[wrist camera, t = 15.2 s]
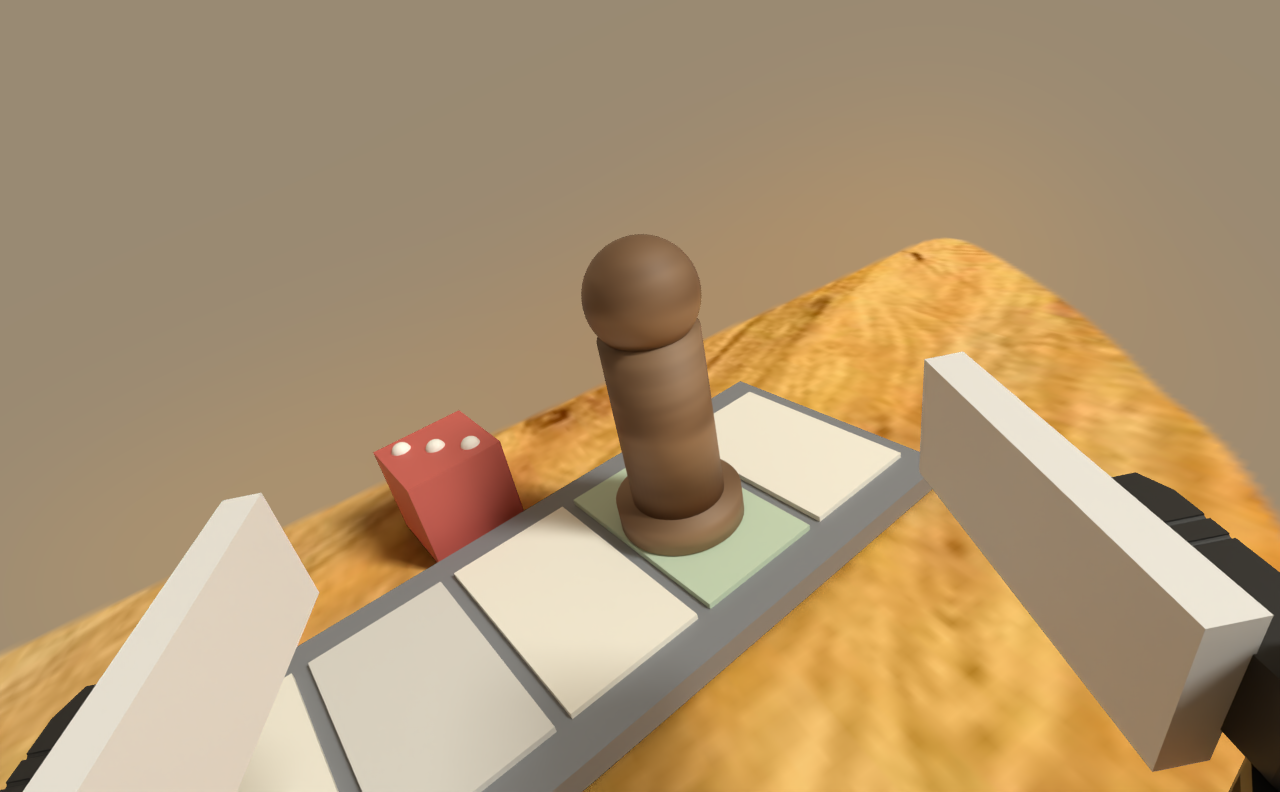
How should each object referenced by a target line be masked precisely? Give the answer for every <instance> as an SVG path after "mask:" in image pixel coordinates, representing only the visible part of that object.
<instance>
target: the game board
mask: <svg viewBox="0 0 1280 792" xmlns="http://www.w3.org/2000/svg"><path fill="white" fill-rule="evenodd" d="M712 406H713V413H714V420H715V426H716V433H717V440H718V447H719V454H720V459H722V460H724V461H726V462H727V463H729V464H730V465H731V466H732V467H733V468H734V469H735V470H736V471H737V473H738V474H739V477H740V480H741V486H742V493H743V501H744V515H743V519H742V521H741V523H740V525H739V526H738V528H737V529H736V531H735V532H734V533H733V534H732V535H731V536H730V537H728V538H727V539H726V540H725V541H723V542H721V543H720V544H718V545H716V546H714V547H712V548H710V549H707V550H705V551H702V552H698V553H695V554H689V555H681V556H665V555H658V554H653V553H650V552H647V551H644V550H642V549H640V548H638V547H637V546H635V545H634V544H633V543H632V542H631V541H629V539H628V538H627V537H626V535H625V533H624V531H623V528H622V524H621V520H620V516H619V512H618V508H617V504H616V495H617V491H618V489H619V487H620V485H621V483H622V482H623V480H624V479H625V478H626V477H627V472H626V468H625V463H624V459H623V455H622V453H620V454H618V455H616V456H615V457H613V458H611V459H610V460H608V461H606V462H605V463H603V464H601V465H600V466H598V467H596V468H595V469H593V470H591V471H590V472H588V473H586V474H585V475H583V476H581V477H580V478H578V479H576V480H575V481H573V482H571V483H570V484H568V485H566V486H565V487H563V488H561V489H560V490H558V491H556V492H555V493H553V494H551V495H550V496H548V497H546V498H545V499H543V500H541V501H540V502H538V503H536V504H535V505H533V506H531V507H530V508H528V509H526V510H525V511H523V512H521V513H520V514H518V515H516V516H515V517H513V518H511V519H510V520H508V521H506V522H505V523H503V524H501V525H500V526H498V527H496V528H495V529H493V530H491V531H490V532H488V533H486V534H485V535H483V536H481V537H480V538H478V539H476V540H475V541H473V542H471V543H470V544H468V545H466V546H465V547H463V548H461V549H460V550H458V551H456V552H455V553H453V554H451V555H450V556H448V557H446V558H445V559H443V560H441V561H440V562H438V563H436V564H435V565H433V566H431V567H430V568H428V569H426V570H425V571H423V572H421V573H420V574H418V575H416V576H415V577H413V578H411V579H410V580H408V581H406V582H405V583H403V584H401V585H399V586H398V587H396V588H394V589H393V590H391V591H389V592H388V593H386V594H384V595H383V596H381V597H379V598H378V599H376V600H374V601H373V602H371V603H369V604H368V605H366V606H364V607H363V608H361V609H359V610H358V611H356V612H354V613H353V614H351V615H349V616H348V617H346V618H344V619H343V620H341V621H339V622H338V623H336V624H334V625H333V626H331V627H329V628H328V629H326V630H324V631H323V632H321V633H319V634H318V635H316V636H314V637H313V638H311V639H309V640H308V641H306V642H304V643H303V644H301V645H299V646H298V647H297V648H296V650H295V653H294V655H293V657H292V660H291V662H290V665H289V667H288V669H287V672H286V674H285V677H284V679H283V682H282V684H281V686H280V689H279V691H278V694H277V696H276V699H275V701H274V703H273V706H272V708H271V711H270V713H269V716H268V718H267V720H266V723H265V725H264V728H263V730H262V733H261V735H260V737H259V740H258V742H257V745H256V747H255V750H254V752H253V754H252V757H251V759H250V762H249V764H248V766H247V769H246V771H245V774H244V776H243V779H242V781H241V783H240V786H239V788H238V791H237V792H582V791H584V790H585V789H586V788H587V787H588V786H589V785H591V784H592V783H593V782H594V781H595V780H596V779H598V778H599V777H600V776H601V775H602V774H603V773H604V772H606V771H607V770H608V769H609V768H610V767H611V766H613V765H614V764H615V763H616V762H617V761H618V760H619V759H621V758H622V757H623V756H624V755H625V754H626V753H628V752H629V751H630V750H631V749H632V748H633V747H635V746H636V745H637V744H638V743H639V742H640V741H641V740H643V739H644V738H645V737H646V736H647V735H648V734H650V733H651V732H652V731H653V730H654V729H655V728H656V727H658V726H659V725H660V724H661V723H662V722H663V721H665V720H666V719H667V718H668V717H669V716H670V715H672V714H673V713H674V712H675V711H676V710H677V709H678V708H680V707H681V706H682V705H683V704H684V703H685V702H687V701H688V700H689V699H690V698H691V697H692V696H693V695H695V694H696V693H697V692H698V691H699V690H700V689H702V688H703V687H704V686H705V685H706V684H707V683H709V682H710V681H711V680H712V679H713V678H714V677H715V676H717V675H718V674H719V673H720V672H721V671H722V670H724V669H725V668H726V667H727V666H728V665H729V664H730V663H732V662H733V661H734V660H735V659H736V658H737V657H739V656H740V655H741V654H742V653H743V652H744V651H745V650H747V649H748V648H749V647H750V646H751V645H752V644H754V643H755V642H756V641H757V640H758V639H759V638H761V637H762V636H763V635H764V634H765V633H766V632H767V631H769V630H770V629H771V628H772V627H773V626H774V625H776V624H777V623H778V622H779V621H780V620H781V619H782V618H784V617H785V616H786V615H787V614H788V613H789V612H791V611H792V610H793V609H794V608H795V607H796V606H798V605H799V604H800V603H801V602H802V601H803V600H804V599H806V598H807V597H808V596H809V595H810V594H811V593H813V592H814V591H815V590H816V589H817V588H818V587H819V586H821V585H822V584H823V583H824V582H825V581H826V580H828V579H829V578H830V577H831V576H832V575H833V574H835V573H836V572H837V571H838V570H839V569H840V568H841V567H843V566H844V565H845V564H846V563H847V562H848V561H850V560H851V559H852V558H853V557H854V556H855V555H856V554H858V553H859V552H860V551H861V550H862V549H863V548H865V547H866V546H867V545H868V544H869V543H870V542H872V541H873V540H874V539H875V538H876V537H877V536H878V535H880V534H881V533H882V532H883V531H884V530H885V529H887V528H888V527H889V526H890V525H891V524H892V523H893V522H895V521H896V520H897V519H898V518H899V517H900V516H902V515H903V514H904V513H905V512H906V511H907V510H908V509H910V508H911V507H912V506H913V505H914V504H915V503H917V502H918V501H919V500H920V499H921V498H922V497H924V496H925V495H926V494H927V493H928V492H929V491H930V490H932V488H931V486H930V485H929V484H928V482H927V481H926V480H925V479H924V477H923V476H922V475H921V473H920V472H919V463H920V452H918V451H916V450H913V449H911V448H908V447H905V446H903V445H900V444H898V443H895V442H893V441H890V440H888V439H885V438H883V437H880V436H878V435H875V434H872V433H870V432H867V431H865V430H862V429H860V428H857V427H855V426H852V425H850V424H847V423H845V422H842V421H840V420H837V419H834V418H832V417H829V416H827V415H824V414H822V413H819V412H817V411H814V410H812V409H809V408H807V407H804V406H802V405H799V404H796V403H794V402H791V401H789V400H786V399H784V398H781V397H779V396H776V395H774V394H771V393H769V392H766V391H764V390H761V389H758V388H756V387H753V386H751V385H748V384H746V383H743V382H741V381H740V382H738V383H737V384H735V385H733V386H732V387H730V388H728V389H727V390H725V391H723V392H722V393H720V394H718V395H717V396H715V397H713V398H712Z"/></svg>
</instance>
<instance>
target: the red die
mask: <svg viewBox="0 0 1280 792" xmlns="http://www.w3.org/2000/svg"><path fill="white" fill-rule="evenodd" d="M374 455H375V457H376V460H377V462H378V464H379V466H380V468H381V470H382V473H383V474H384V477H385V479H386V481H387V483H388V486H389V488H390V490H391V492H392V494H393V496H394V499H395V501H396V503H397V505H398V507H399V509H400V512H401V514H402V516H403V518H404V520H405V522H406V525H407V526H408V527H409V528H410V530H411V531H412V532H413V533H414V535H415V536H416V537H417V538H418V540H419V541H420V542H421V543H422V544H423V546H424V547H425V548H426V549H427V551H428V552H429V553H430V554H431V556H432V557H433V558H434V559H435V560H436V562H437V563H438V562H440V561H441V560H443V559H445V558H446V557H448V556H450V555H451V554H453V553H455V552H456V551H458V550H460V549H461V548H463V547H465V546H466V545H468V544H470V543H471V542H473V541H475V540H476V539H478V538H480V537H481V536H483V535H485V534H486V533H488V532H490V531H491V530H493V529H495V528H496V527H498V526H500V525H501V524H503V523H505V522H506V521H508V520H510V519H511V518H513V517H515V516H516V515H518V514H520V513H521V512H523V511H524V510H523V507H522V504H521V502H520V499H519V496H518V493H517V490H516V487H515V484H514V481H513V478H512V475H511V472H510V470H509V467H508V464H507V461H506V458H505V455H504V452H503V449H502V446H501V443H500V441H499V440H497V439H496V438H495V437H493V436H492V435H491V434H489V433H488V432H487V431H485V430H484V429H483V428H481V427H480V426H479V425H477V424H476V423H475V422H474V421H472V420H471V419H470V418H468V417H467V416H466V415H464V414H463V413H461V412H460V411H457V412H455V413H452V414H451V415H449V416H446V417H445V418H442V419H440V420H438V421H436V422H434V423H432V424H430V425H428V426H426V427H424V428H422V429H420V430H418V431H416V432H414V433H412V434H410V435H408V436H406V437H404V438H402V439H400V440H398V441H396V442H394V443H392V444H390V445H388V446H386V447H384V448H381V449H380V450H377V451H376V452H374Z"/></svg>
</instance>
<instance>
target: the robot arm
mask: <svg viewBox="0 0 1280 792" xmlns="http://www.w3.org/2000/svg"><path fill="white" fill-rule="evenodd" d="M919 472H920V473H921V475H922V476H923V477H924V479H925V480H926V481H927V482H928V484H929V485H930V486H931V488H932V489H933V490H934V492H935V493H936V494H937V495H938V497H939V498H940V499H941V501H942V502H943V503H944V504H945V506H946V507H947V508H948V510H949V511H950V512H951V513H952V515H953V516H954V517H955V519H956V520H957V521H958V522H959V524H960V525H961V526H962V528H963V529H964V530H965V531H966V533H967V534H968V535H969V537H970V538H971V539H972V540H973V542H974V543H975V544H976V546H977V547H978V548H979V549H980V551H981V552H982V553H983V555H984V556H985V557H986V558H987V560H988V561H989V562H990V564H991V565H992V566H993V567H994V569H995V570H996V571H997V573H998V574H999V575H1000V576H1001V578H1002V579H1003V580H1004V582H1005V583H1006V584H1007V585H1008V587H1009V588H1010V589H1011V591H1012V592H1013V593H1014V594H1015V596H1016V597H1017V598H1018V600H1019V601H1020V602H1021V603H1022V605H1023V606H1024V607H1025V609H1026V610H1027V611H1028V612H1029V614H1030V615H1031V616H1032V618H1033V619H1034V620H1035V621H1036V623H1037V624H1038V625H1039V627H1040V628H1041V629H1042V630H1043V632H1044V633H1045V634H1046V636H1047V637H1048V638H1049V639H1050V641H1051V642H1052V643H1053V645H1054V646H1055V647H1056V648H1057V650H1058V651H1059V652H1060V654H1061V655H1062V656H1063V657H1064V659H1065V660H1066V661H1067V663H1068V664H1069V665H1070V666H1071V668H1072V669H1073V670H1074V672H1075V673H1076V674H1077V675H1078V677H1079V678H1080V679H1081V681H1082V682H1083V683H1084V684H1085V686H1086V687H1087V688H1088V690H1089V691H1090V692H1091V694H1092V695H1093V696H1094V697H1095V699H1096V700H1097V701H1098V703H1099V704H1100V705H1101V706H1102V708H1103V709H1104V710H1105V712H1106V713H1107V714H1108V715H1109V717H1110V718H1111V719H1112V721H1113V722H1114V723H1115V724H1116V726H1117V727H1118V728H1119V730H1120V731H1121V732H1122V733H1123V735H1124V736H1125V737H1126V739H1127V740H1128V741H1129V742H1130V744H1131V745H1132V746H1133V748H1134V749H1135V750H1136V751H1137V753H1138V754H1139V755H1140V757H1141V758H1142V759H1143V760H1144V762H1145V763H1146V764H1147V766H1148V767H1149V768H1150V769H1151V771H1152V772H1154V771H1159V770H1164V769H1169V768H1174V767H1178V766H1183V765H1188V764H1193V763H1198V762H1203V761H1208V760H1210V759H1211V756H1212V754H1213V752H1214V749H1215V747H1216V745H1217V743H1218V740H1219V738H1220V736H1221V734H1222V732H1223V733H1224V734H1225V735H1226V736H1227V737H1228V738H1229V739H1230V740H1231V742H1232V743H1233V744H1234V745H1235V746H1236V747H1237V748H1238V749H1239V750H1240V751H1241V752H1242V754H1243V755H1244V756H1245V759H1244V761H1243V763H1242V765H1241V767H1240V769H1239V771H1238V774H1237V776H1236V778H1235V780H1234V782H1233V784H1232V786H1231V788H1230V790H1229V792H1280V572H1278V571H1277V570H1276V569H1275V568H1273V567H1272V566H1271V565H1269V564H1268V563H1267V562H1266V561H1264V560H1263V559H1262V558H1261V557H1259V556H1258V555H1257V554H1255V553H1254V552H1253V551H1252V550H1250V549H1249V548H1248V547H1246V546H1245V545H1244V544H1243V543H1241V542H1240V541H1239V540H1238V539H1236V538H1233V539H1232V538H1231V537H1230V536H1229V532H1227V531H1226V530H1225V529H1223V528H1222V527H1221V526H1220V525H1218V524H1217V523H1216V522H1215V521H1213V520H1212V519H1211V518H1208V519H1206V518H1205V516H1204V513H1203V512H1202V511H1200V510H1199V509H1198V508H1197V507H1195V506H1194V505H1193V504H1191V503H1190V502H1189V501H1188V500H1186V499H1185V498H1184V497H1183V496H1181V495H1180V494H1179V493H1177V492H1176V491H1175V490H1173V489H1171V488H1169V487H1166V486H1164V485H1162V484H1160V483H1158V482H1155V481H1153V480H1151V479H1149V478H1147V477H1144V476H1142V475H1140V474H1138V473H1131V474H1126V475H1121V476H1116V477H1110V476H1109V475H1108V474H1107V473H1105V472H1104V471H1103V470H1102V469H1101V468H1100V467H1098V466H1097V465H1096V464H1095V463H1094V462H1093V461H1091V460H1090V459H1089V458H1088V457H1087V456H1085V455H1084V454H1083V453H1082V452H1081V451H1080V450H1078V449H1077V448H1076V447H1075V446H1074V445H1072V444H1071V443H1070V442H1069V441H1068V440H1067V439H1065V438H1064V437H1063V436H1062V435H1061V434H1060V433H1058V432H1057V431H1056V430H1055V429H1054V428H1052V427H1051V426H1050V425H1049V424H1048V423H1047V422H1045V421H1044V420H1043V419H1042V418H1041V417H1039V416H1038V415H1037V414H1036V413H1035V412H1034V411H1032V410H1031V409H1030V408H1029V407H1028V406H1027V405H1025V404H1024V403H1023V402H1022V401H1021V400H1019V399H1018V398H1017V397H1016V396H1015V395H1014V394H1012V393H1011V392H1010V391H1009V390H1008V389H1007V388H1005V387H1004V386H1003V385H1002V384H1001V383H999V382H998V381H997V380H996V379H995V378H994V377H992V376H991V375H990V374H989V373H988V372H986V371H985V370H984V369H983V368H982V367H981V366H979V365H978V364H977V363H976V362H975V361H974V360H972V359H971V358H970V357H969V356H968V355H966V354H965V353H964V352H959V353H954V354H949V355H944V356H939V357H934V358H929V359H925V361H924V381H923V402H922V422H921V443H920V463H919ZM318 594H319V592H318V590H317V588H316V586H315V585H314V583H313V581H312V579H311V578H310V576H309V574H308V573H307V571H306V569H305V567H304V566H303V564H302V562H301V560H300V559H299V557H298V555H297V554H296V552H295V550H294V548H293V547H292V545H291V543H290V541H289V540H288V538H287V536H286V535H285V533H284V531H283V529H282V528H281V526H280V524H279V522H278V521H277V519H276V517H275V516H274V514H273V512H272V510H271V509H270V507H269V505H268V503H267V502H266V500H265V498H264V497H263V495H262V493H258V494H253V495H248V496H243V497H238V498H234V499H228V500H223V501H222V502H221V503H220V505H219V506H218V508H217V509H216V511H215V512H214V514H213V515H212V517H211V519H210V520H209V521H208V522H207V524H206V525H205V527H204V528H203V530H202V531H201V533H200V534H199V536H198V537H197V539H196V540H195V541H194V543H193V544H192V546H191V547H190V549H189V550H188V552H187V553H186V554H185V556H184V557H183V559H182V560H181V562H180V563H179V565H178V566H177V568H176V569H175V571H174V572H173V573H172V575H171V576H170V578H169V579H168V581H167V582H166V584H165V585H164V587H163V588H162V589H161V591H160V592H159V594H158V595H157V597H156V598H155V600H154V601H153V603H152V604H151V605H150V607H149V608H148V610H147V611H146V613H145V614H144V616H143V617H142V619H141V620H140V621H139V623H138V624H137V626H136V627H135V629H134V630H133V632H132V633H131V635H130V636H129V637H128V639H127V640H126V642H125V643H124V645H123V646H122V648H121V649H120V651H119V652H118V654H117V655H116V656H115V658H114V659H113V661H112V662H111V664H110V665H109V667H108V668H107V670H106V671H105V672H104V674H103V675H102V677H101V678H100V680H99V681H98V683H97V684H96V685H91V686H86V687H85V688H84V689H83V690H82V691H81V692H80V693H78V694H77V695H76V696H75V697H74V698H73V699H72V700H71V701H70V702H69V703H68V704H67V705H66V706H65V707H64V708H63V709H62V710H60V711H59V712H58V713H57V714H56V715H55V716H54V717H53V718H52V719H51V720H50V722H49V723H48V725H47V726H46V727H45V729H44V730H43V732H42V733H41V734H40V736H39V737H38V739H37V740H36V741H35V743H34V744H33V746H32V747H31V748H30V750H29V751H28V753H27V759H26V760H22V761H21V762H20V764H19V765H18V766H17V768H16V769H15V771H14V772H13V773H12V775H11V776H10V778H9V779H8V780H7V782H6V784H7V787H6V789H4V790H0V792H237V791H238V788H239V786H240V783H241V781H242V779H243V776H244V774H245V771H246V769H247V766H248V764H249V762H250V759H251V757H252V754H253V752H254V750H255V747H256V745H257V742H258V740H259V737H260V735H261V733H262V730H263V728H264V725H265V723H266V720H267V718H268V716H269V713H270V711H271V708H272V706H273V703H274V701H275V699H276V696H277V694H278V691H279V689H280V686H281V684H282V682H283V679H284V677H285V674H286V672H287V669H288V667H289V665H290V662H291V660H292V657H293V655H294V653H295V650H296V648H297V645H298V643H299V640H300V638H301V636H302V633H303V631H304V628H305V626H306V623H307V621H308V619H309V616H310V614H311V611H312V609H313V606H314V604H315V602H316V599H317V597H318Z"/></svg>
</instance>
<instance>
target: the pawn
mask: <svg viewBox="0 0 1280 792" xmlns="http://www.w3.org/2000/svg"><path fill="white" fill-rule="evenodd" d="M581 294H582V295H581V296H582V306H583V311H584V314H585V317H586V319H587V322H588V324H589V325H590V327H591V328H592V330H593V331H594V333H595V334H596V335H597V336H598V337H597V346H598V350H599V355H600V359H601V364H602V368H603V372H604V377H605V381H606V385H607V390H608V394H609V398H610V403H611V407H612V411H613V416H614V420H615V424H616V429H617V433H618V437H619V442H620V446H621V450H622V455H623V459H624V463H625V468H626V472H627V477H626V478H625V479H624V480H623V482H622V483H621V485H620V487H619V489H618V491H617V495H616V504H617V508H618V512H619V516H620V520H621V524H622V528H623V531H624V533H625V535H626V537H627V538H628V539H629V541H631V542H632V543H633V544H634V545H635V546H637V547H638V548H640V549H642V550H644V551H647V552H650V553H653V554H658V555H665V556H681V555H689V554H695V553H698V552H702V551H705V550H707V549H710V548H712V547H714V546H716V545H718V544H720V543H721V542H723V541H725V540H726V539H727V538H728V537H730V536H731V535H732V534H733V533H734V532H735V531H736V529H737V528H738V526H739V525H740V523H741V521H742V519H743V515H744V501H743V493H742V486H741V480H740V477H739V474H738V473H737V471H736V470H735V469H734V468H733V467H732V466H731V465H730V464H729V463H727V462H726V461H724V460H722V459H720V454H719V447H718V440H717V433H716V426H715V420H714V413H713V406H712V399H711V392H710V385H709V379H708V372H707V365H706V358H705V351H704V344H703V338H702V331H701V324H700V321H699V319H698V318H697V316H698V313H699V310H700V305H701V285H700V280H699V277H698V274H697V271H696V269H695V267H694V265H693V263H692V262H691V260H690V259H689V257H688V256H687V255H686V254H685V253H684V252H683V251H682V250H681V249H680V248H678V247H677V246H676V245H675V244H673V243H671V242H669V241H668V240H666V239H663V238H660V237H657V236H653V235H644V234H638V235H629V236H626V237H622V238H620V239H617V240H615V241H613V242H611V243H610V244H608V245H607V246H605V247H604V248H603V249H602V250H601V251H600V252H599V253H598V254H597V255H596V256H595V257H594V259H593V260H592V261H591V263H590V265H589V266H588V268H587V271H586V273H585V276H584V279H583V283H582V292H581Z"/></svg>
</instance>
